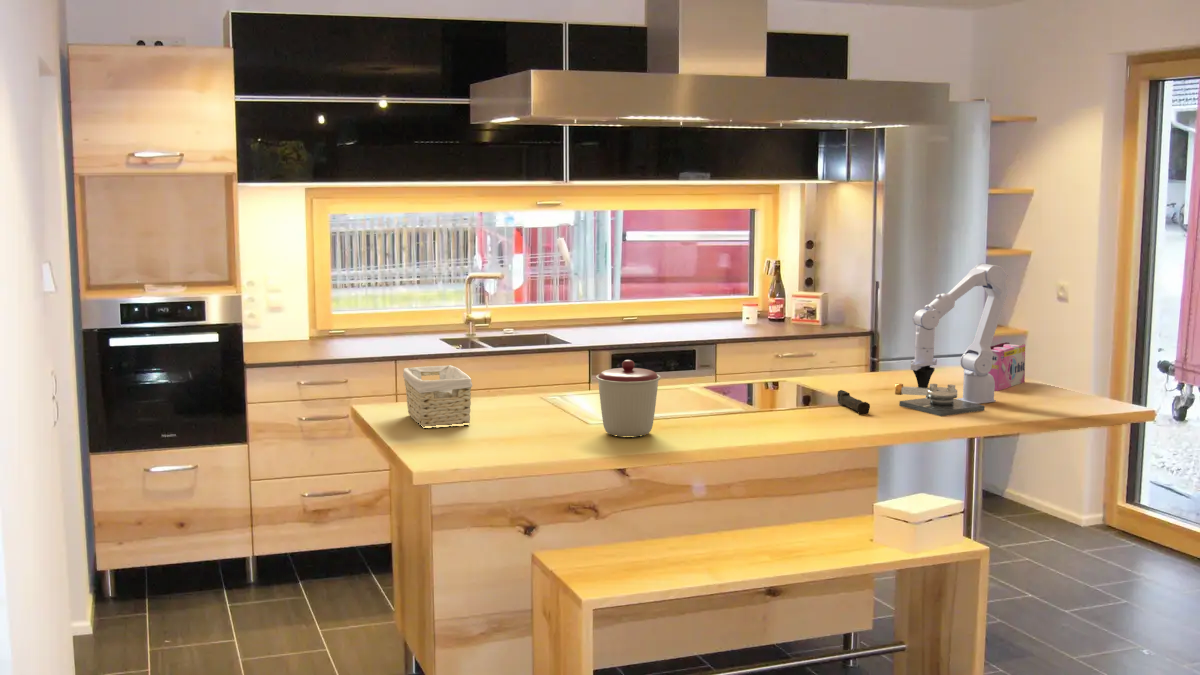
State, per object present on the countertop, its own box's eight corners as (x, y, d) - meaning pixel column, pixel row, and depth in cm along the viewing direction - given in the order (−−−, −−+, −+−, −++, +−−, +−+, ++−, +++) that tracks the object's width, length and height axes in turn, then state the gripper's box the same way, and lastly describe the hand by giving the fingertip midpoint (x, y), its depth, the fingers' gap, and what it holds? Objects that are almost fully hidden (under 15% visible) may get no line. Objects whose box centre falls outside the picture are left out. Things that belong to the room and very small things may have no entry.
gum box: (1004, 379, 416) (1006, 341, 414) (1026, 382, 410) (1028, 343, 409) (975, 388, 398) (977, 349, 396) (998, 391, 393) (999, 351, 391)
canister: (656, 442, 318) (656, 366, 315) (590, 440, 321) (590, 364, 318) (663, 428, 336) (664, 355, 333) (601, 426, 339) (601, 354, 336)
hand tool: (870, 414, 356) (870, 399, 355) (857, 415, 355) (858, 400, 354) (846, 403, 374) (846, 388, 373) (834, 403, 373) (834, 389, 373)
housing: (942, 400, 377) (942, 389, 376) (984, 410, 361) (984, 399, 360) (899, 405, 368) (899, 394, 368) (940, 416, 353) (941, 404, 352)
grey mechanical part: (957, 397, 367) (957, 384, 367) (956, 402, 359) (957, 389, 358) (895, 393, 373) (896, 381, 372) (894, 399, 364) (894, 386, 364)
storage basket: (474, 427, 338) (473, 376, 336) (419, 431, 333) (417, 380, 331) (455, 411, 360) (454, 364, 358) (402, 415, 355) (401, 367, 353)
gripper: (922, 343, 377) (921, 385, 379) (902, 349, 366) (900, 391, 368) (943, 346, 372) (941, 388, 374) (923, 351, 361) (921, 394, 363)
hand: (922, 390), depth 371 cm, fingers closed
